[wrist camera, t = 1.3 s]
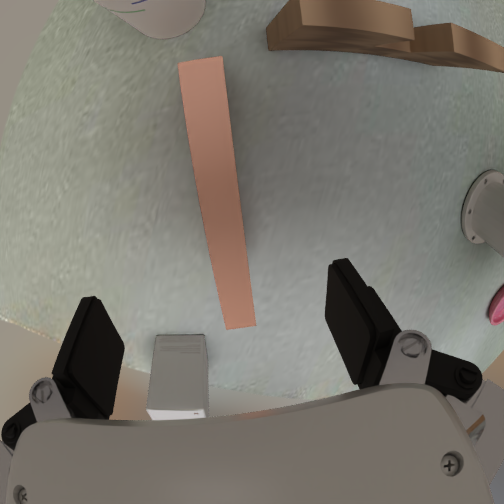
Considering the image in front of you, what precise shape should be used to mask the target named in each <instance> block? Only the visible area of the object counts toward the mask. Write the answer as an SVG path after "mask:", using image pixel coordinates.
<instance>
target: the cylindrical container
mask: <svg viewBox="0 0 504 504" xmlns="http://www.w3.org/2000/svg"><path fill="white" fill-rule="evenodd" d="M93 1H94V2H96V3H98V4H99V5H101V6H103V7H104V8H106V9H107V10H109V11H110V12H112V13H113V14H115V15H116V16H118V17H119V18H121V19H122V20H124V21H125V22H127V23H128V24H130V25H131V26H133V27H134V28H136V29H137V30H138V31H140V32H141V33H143V34H144V35H146V36H148V37H151V38H155V39H169V38H174V37H177V36H180V35H182V34H184V33H186V32H188V31H189V30H191V29H192V28H193V27H194V26H195V25H196V24H197V23H198V22H199V21H200V19H201V17H202V15H203V13H204V10H205V0H93Z"/></svg>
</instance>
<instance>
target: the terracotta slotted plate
mask: <svg viewBox="0 0 504 504" xmlns="http://www.w3.org/2000/svg"><path fill="white" fill-rule="evenodd" d="M178 70H179V78H180V85H181V92H182V99H183V106H184V113H185V120H186V126H187V133H188V139H189V145H190V151H191V157H192V163H193V169H194V175H195V180H196V186H197V191H198V197H199V202H200V208H201V213H202V218H203V223H204V228H205V233H206V238H207V243H208V248H209V253H210V258H211V263H212V268H213V272H214V277H215V282H216V286H217V291H218V295H219V300H220V304H221V309H222V313H223V317H224V322H225V326H226V330H229V329H236V328H243V327H250V326H256V320H255V313H254V305H253V298H252V290H251V282H250V275H249V267H248V259H247V251H246V244H245V236H244V228H243V220H242V212H241V204H240V196H239V188H238V181H237V173H236V164H235V156H234V148H233V140H232V132H231V124H230V116H229V108H228V99H227V91H226V83H225V74H224V66H223V58H222V56H218V57H211V58H204V59H198V60H192V61H186V62H181V63H178Z"/></svg>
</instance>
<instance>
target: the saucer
mask: <svg viewBox="0 0 504 504" xmlns="http://www.w3.org/2000/svg"><path fill="white" fill-rule="evenodd" d="M489 320H490V323H491V324H492V325H498V324H500V323H501V322H503V321H504V286H503V287H502V288H501V289H500V290H499V292H498V293H497V294H496V296H495V297H494V299H493V300H492V302H491V305H490V308H489Z"/></svg>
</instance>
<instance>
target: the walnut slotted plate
mask: <svg viewBox="0 0 504 504" xmlns="http://www.w3.org/2000/svg"><path fill="white" fill-rule="evenodd" d="M266 32H267V40H268V49H269V51H272V50H323V51H341V52H353V53H363V54H371V55H379V56H386V57H392V58H398V59H404V60H409V61H414V62H419V63H424V64H428V65H432V66H449V67H462V68H473V69H481V70H489V71H495V72H502V73H504V47H502V46H500V45H498V44H496V43H494V42H492V41H490V40H488V39H486V38H484V37H482V36H480V35H478V34H476V33H474V32H472V31H469V30H467V29H465V28H463V27H460V26H458V25H455V24H453V23H443V24H435V25H427V26H421V27H414V28H413V21H412V14H411V9H409V8H405V7H401V6H398V5H394V4H390V3H385V2H381V1H376V0H289V1H288V2H287V4H286V5H285V6H284V7H283V8H282V9H281V11H280V12H279V13H278V14H277V15H276V17H275V18H274V19H273V20H272V21H271V23H270V24H269V25H268V26H267V28H266Z"/></svg>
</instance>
